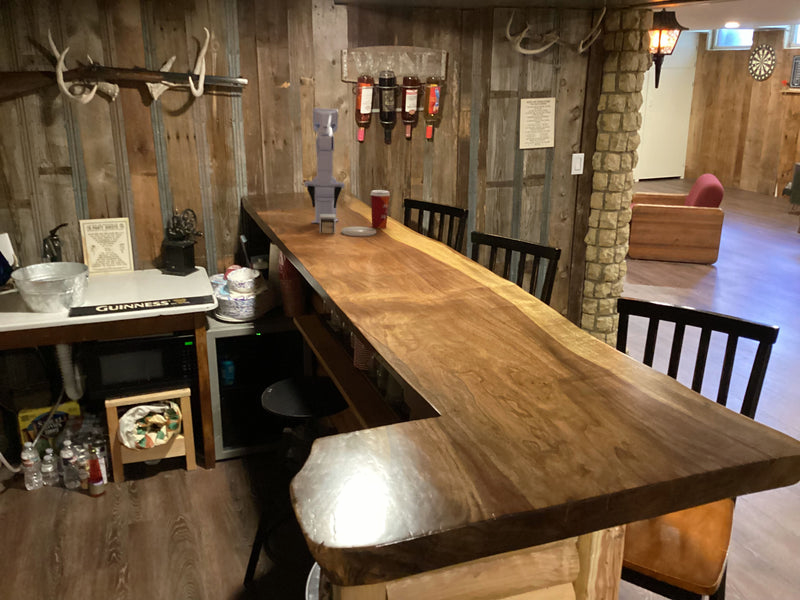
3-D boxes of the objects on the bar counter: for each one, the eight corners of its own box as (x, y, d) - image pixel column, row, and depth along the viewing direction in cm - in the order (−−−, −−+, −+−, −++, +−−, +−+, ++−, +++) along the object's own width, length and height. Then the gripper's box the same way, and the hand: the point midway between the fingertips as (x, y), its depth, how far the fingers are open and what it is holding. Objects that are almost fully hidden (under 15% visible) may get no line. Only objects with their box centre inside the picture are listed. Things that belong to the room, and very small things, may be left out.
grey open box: (320, 230, 263) (320, 213, 261) (335, 230, 263) (335, 214, 261) (319, 233, 257) (319, 216, 255) (334, 233, 258) (334, 217, 256)
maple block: (322, 230, 262) (322, 220, 261) (333, 231, 262) (333, 220, 261) (321, 233, 258) (321, 222, 257) (332, 233, 258) (332, 222, 257)
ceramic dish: (348, 227, 269) (348, 225, 268) (380, 231, 265) (380, 228, 265) (336, 234, 257) (336, 231, 256) (369, 237, 253) (369, 235, 253)
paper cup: (388, 229, 269) (389, 193, 265) (368, 228, 269) (369, 192, 265) (389, 225, 277) (390, 190, 273) (370, 224, 277) (371, 189, 273)
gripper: (303, 170, 248) (303, 208, 252) (344, 172, 249) (343, 209, 253) (305, 168, 255) (305, 204, 259) (345, 169, 255) (344, 206, 260)
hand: (324, 207), depth 256 cm, fingers open, 7 cm apart
